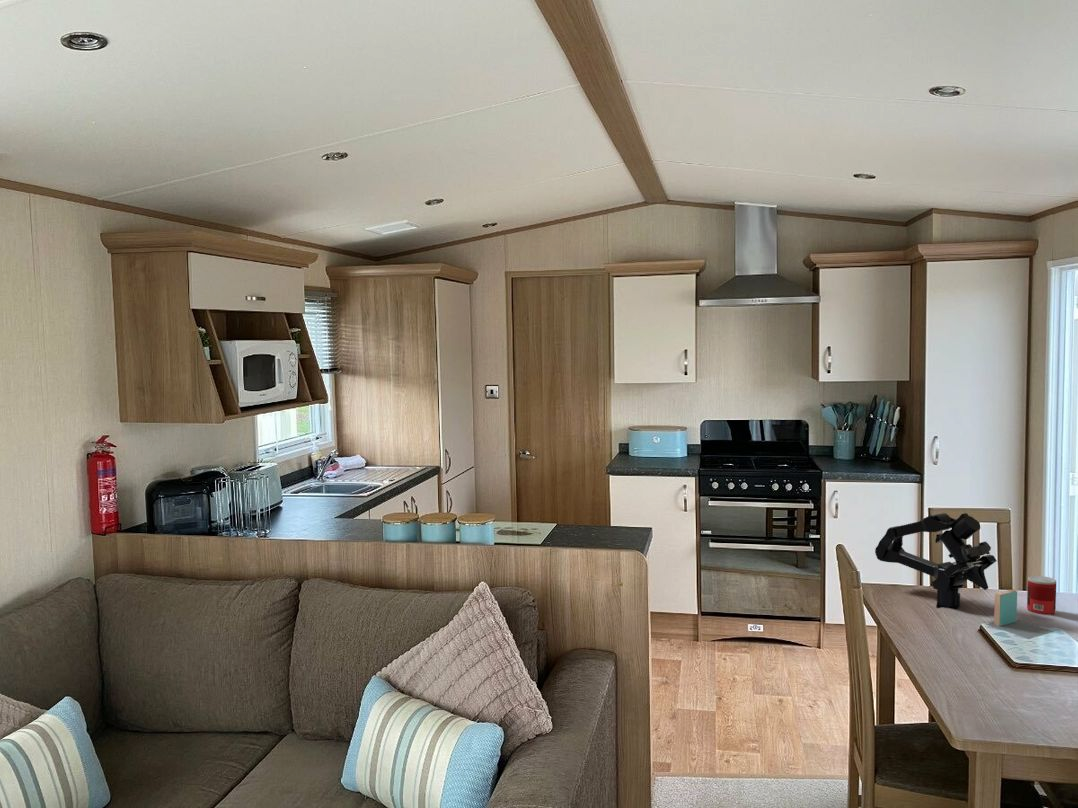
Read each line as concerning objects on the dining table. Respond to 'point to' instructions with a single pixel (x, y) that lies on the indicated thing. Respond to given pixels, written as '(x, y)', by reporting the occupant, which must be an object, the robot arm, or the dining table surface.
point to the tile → (1005, 607)
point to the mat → (1022, 629)
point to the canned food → (1041, 595)
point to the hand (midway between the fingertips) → (986, 589)
